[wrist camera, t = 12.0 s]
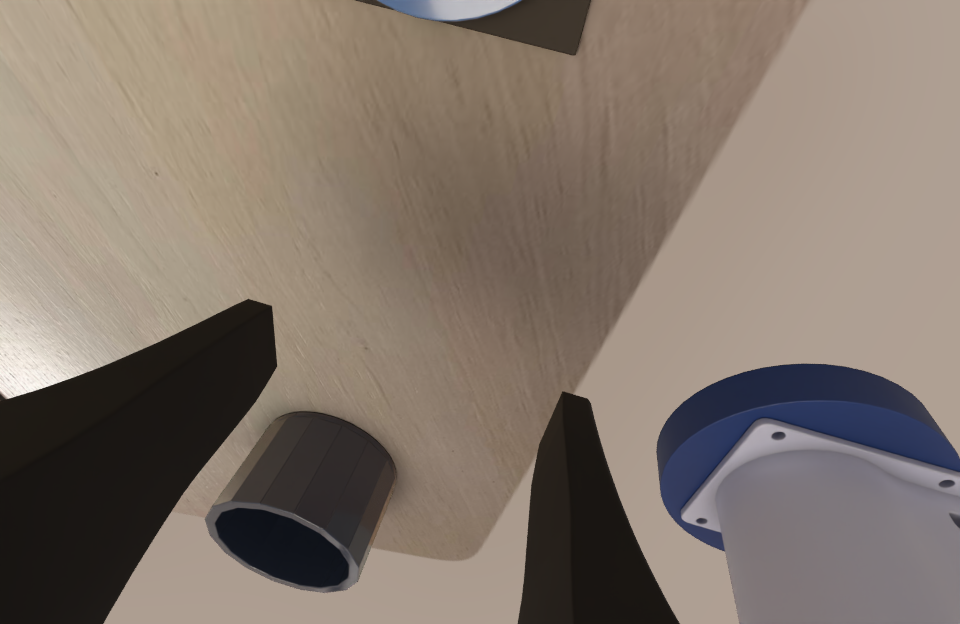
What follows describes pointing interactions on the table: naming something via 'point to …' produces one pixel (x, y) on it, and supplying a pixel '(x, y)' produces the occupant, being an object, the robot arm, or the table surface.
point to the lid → (449, 8)
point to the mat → (532, 23)
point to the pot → (306, 503)
